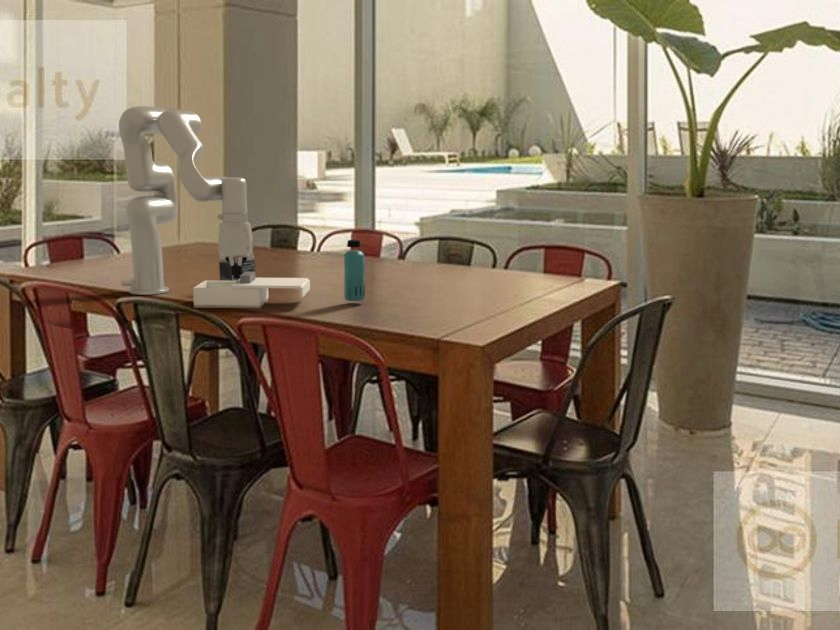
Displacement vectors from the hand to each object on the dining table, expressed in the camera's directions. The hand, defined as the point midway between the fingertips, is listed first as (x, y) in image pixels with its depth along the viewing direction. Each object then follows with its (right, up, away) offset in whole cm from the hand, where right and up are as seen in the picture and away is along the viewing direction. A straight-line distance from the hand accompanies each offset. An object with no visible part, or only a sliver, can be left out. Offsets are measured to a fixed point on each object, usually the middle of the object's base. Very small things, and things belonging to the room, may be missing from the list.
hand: (237, 277), depth 274 cm
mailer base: (-2, -8, +2) cm, 8 cm away
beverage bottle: (+36, -8, +2) cm, 37 cm away
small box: (-4, -4, +23) cm, 24 cm away
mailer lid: (+10, -5, +1) cm, 11 cm away
